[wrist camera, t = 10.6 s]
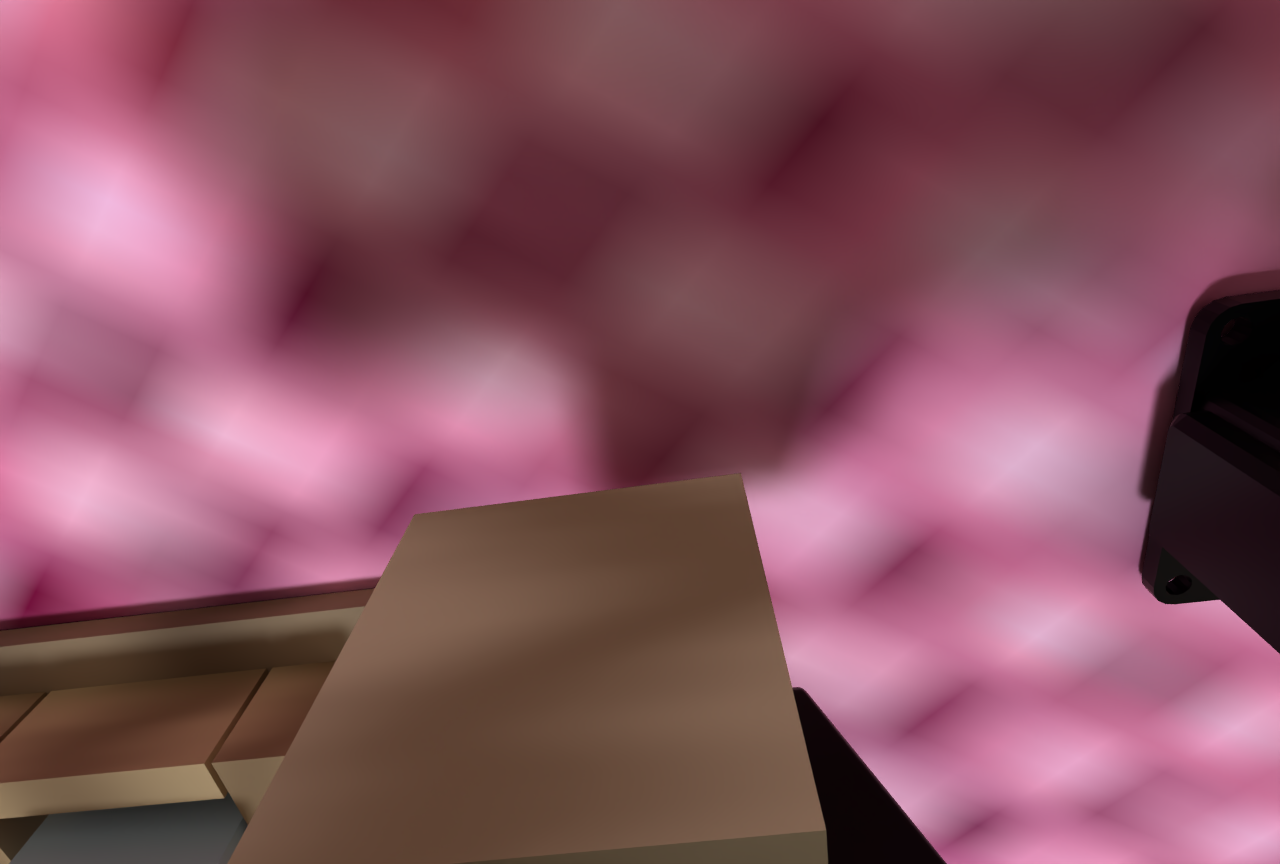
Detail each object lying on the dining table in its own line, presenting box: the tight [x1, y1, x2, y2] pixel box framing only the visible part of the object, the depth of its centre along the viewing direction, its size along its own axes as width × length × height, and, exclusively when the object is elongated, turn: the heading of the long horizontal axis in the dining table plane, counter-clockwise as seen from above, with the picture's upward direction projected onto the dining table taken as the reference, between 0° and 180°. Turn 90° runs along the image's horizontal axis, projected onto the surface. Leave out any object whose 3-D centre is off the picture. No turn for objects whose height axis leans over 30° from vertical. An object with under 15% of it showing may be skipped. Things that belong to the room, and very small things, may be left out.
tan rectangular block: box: [227, 473, 828, 864], centre depth 8 cm, size 4×6×4 cm
